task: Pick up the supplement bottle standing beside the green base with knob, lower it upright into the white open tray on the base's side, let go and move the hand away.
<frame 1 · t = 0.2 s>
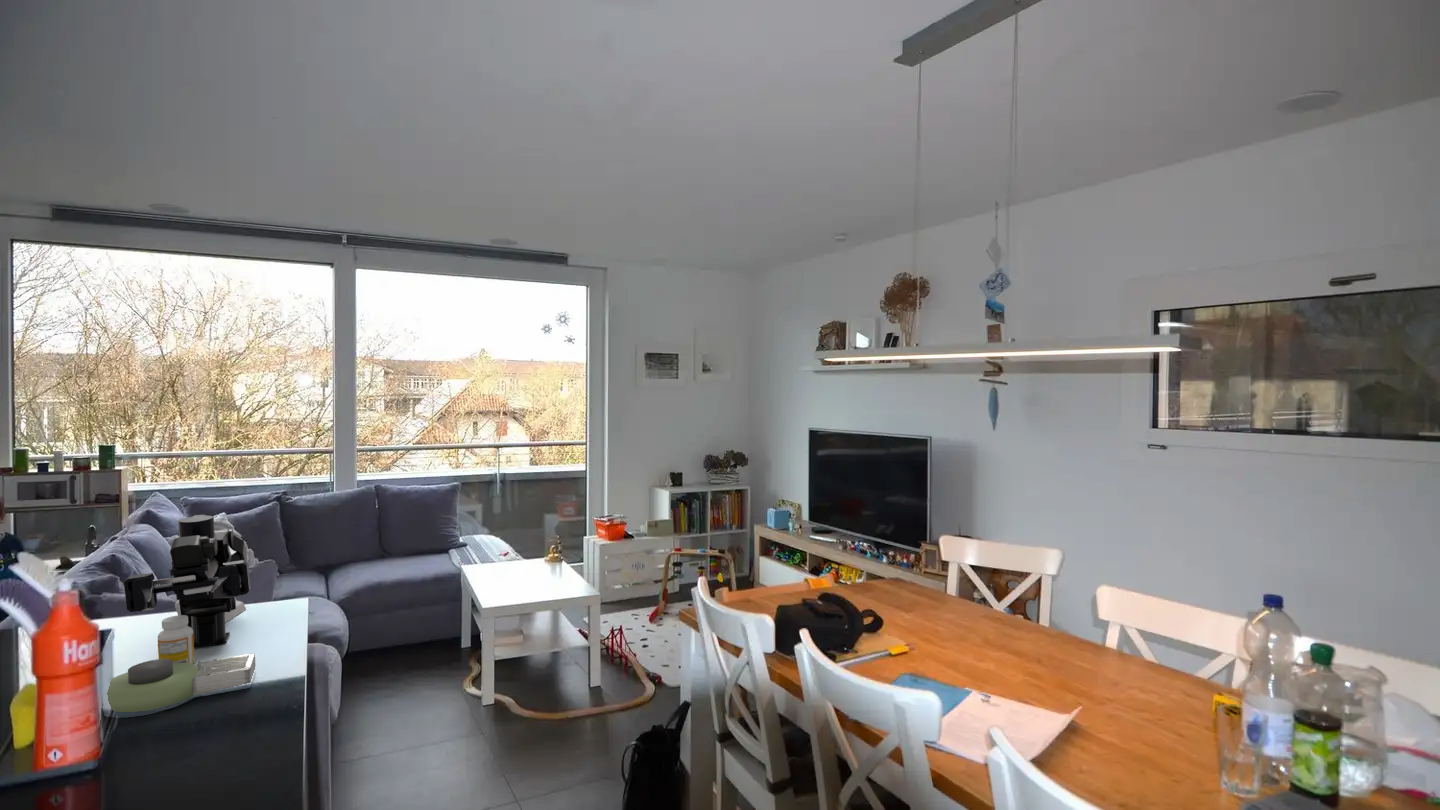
hand: (180, 600, 131), 15 cm above the kitchen counter, tool horizontal, fingers open, 9 cm apart
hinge: (210, 622, 169), on the kitchen counter, touching arm
supplement bottle: (177, 670, 140), on the kitchen counter
white open tray: (224, 684, 133), on the kitchen counter
green base with knob: (152, 700, 126), on the kitchen counter
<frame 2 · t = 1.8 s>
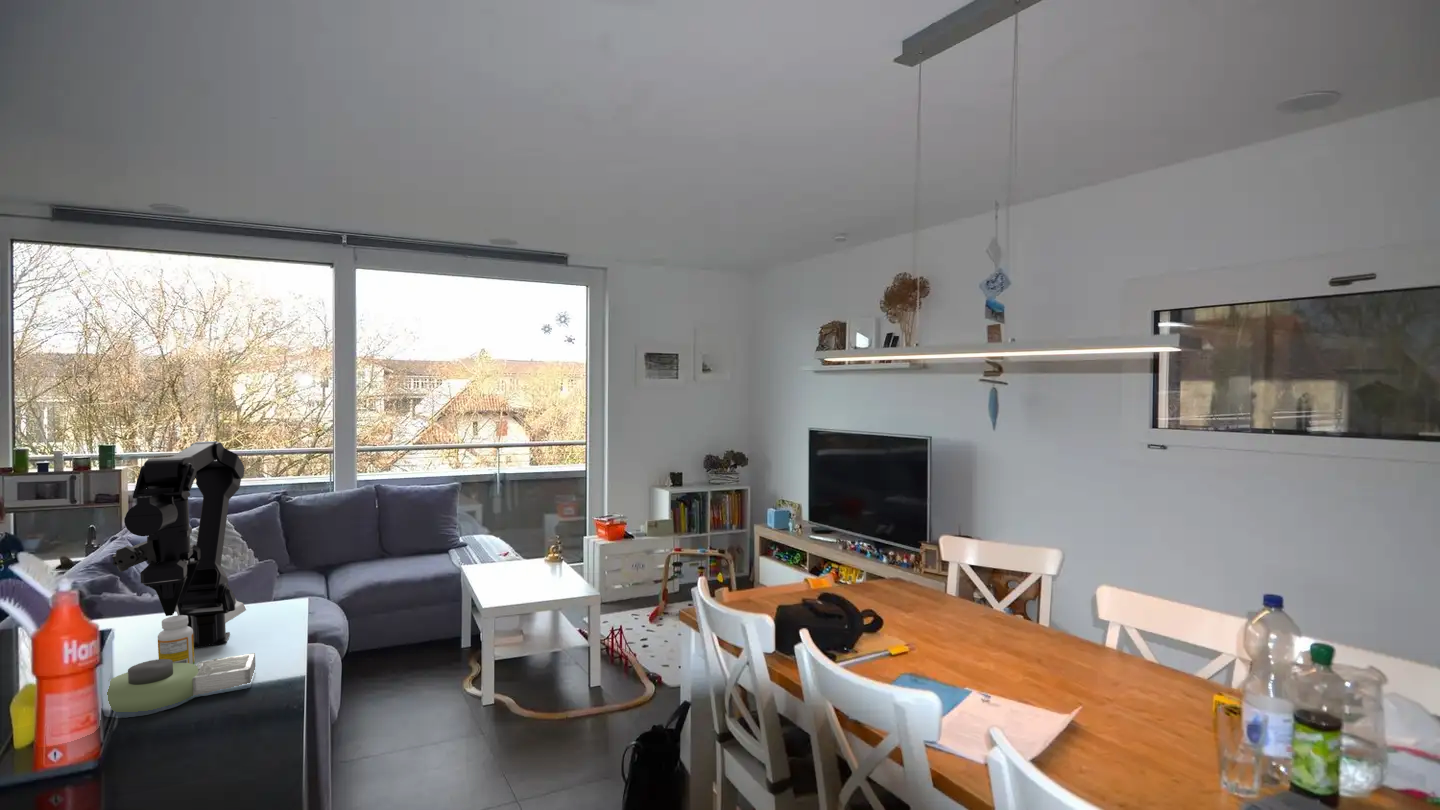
hand: (174, 608, 140), 11 cm above the kitchen counter, tool pointing down, fingers open, 9 cm apart
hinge: (210, 623, 168), on the kitchen counter
everything else where it was.
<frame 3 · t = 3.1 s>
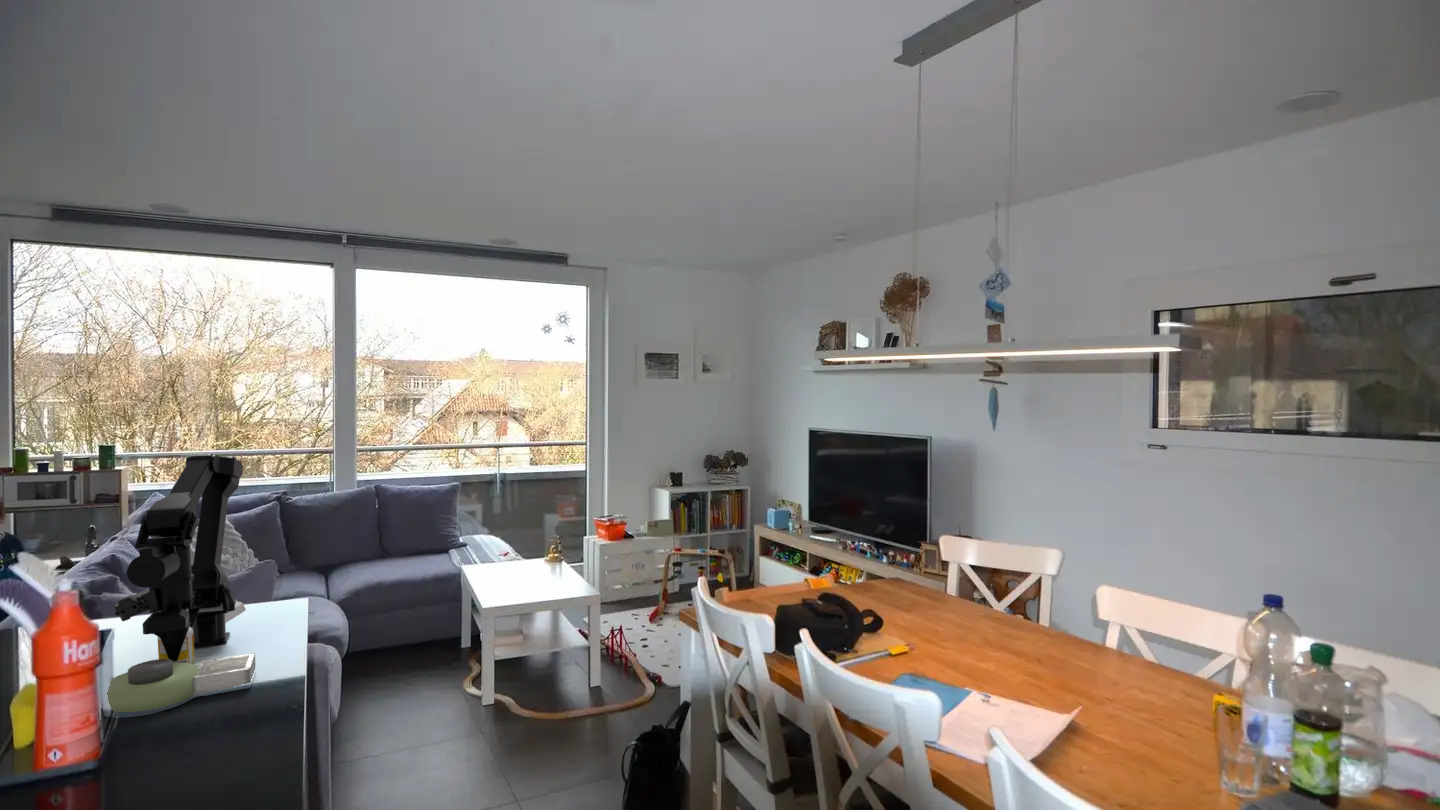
hand: (176, 656, 140), 3 cm above the kitchen counter, tool pointing down, fingers closed on supplement bottle, 5 cm apart
supplement bottle: (177, 670, 140), on the kitchen counter, touching gripper
everything else where it was.
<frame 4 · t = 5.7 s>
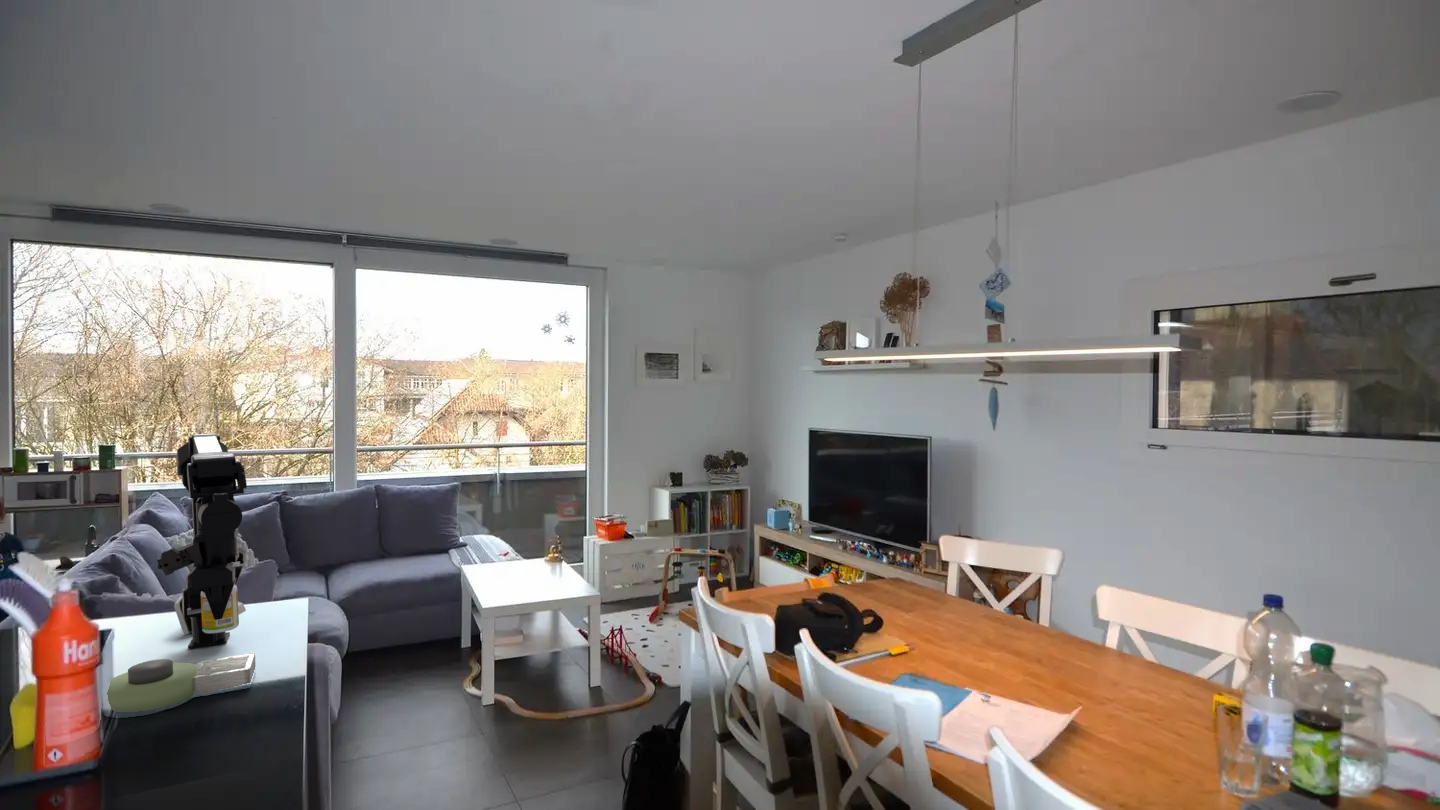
hand: (220, 614, 132), 13 cm above the kitchen counter, tool pointing down, fingers closed on supplement bottle, 5 cm apart
supplement bottle: (221, 629, 132), point 10 cm above the kitchen counter, touching gripper
everything else where it was.
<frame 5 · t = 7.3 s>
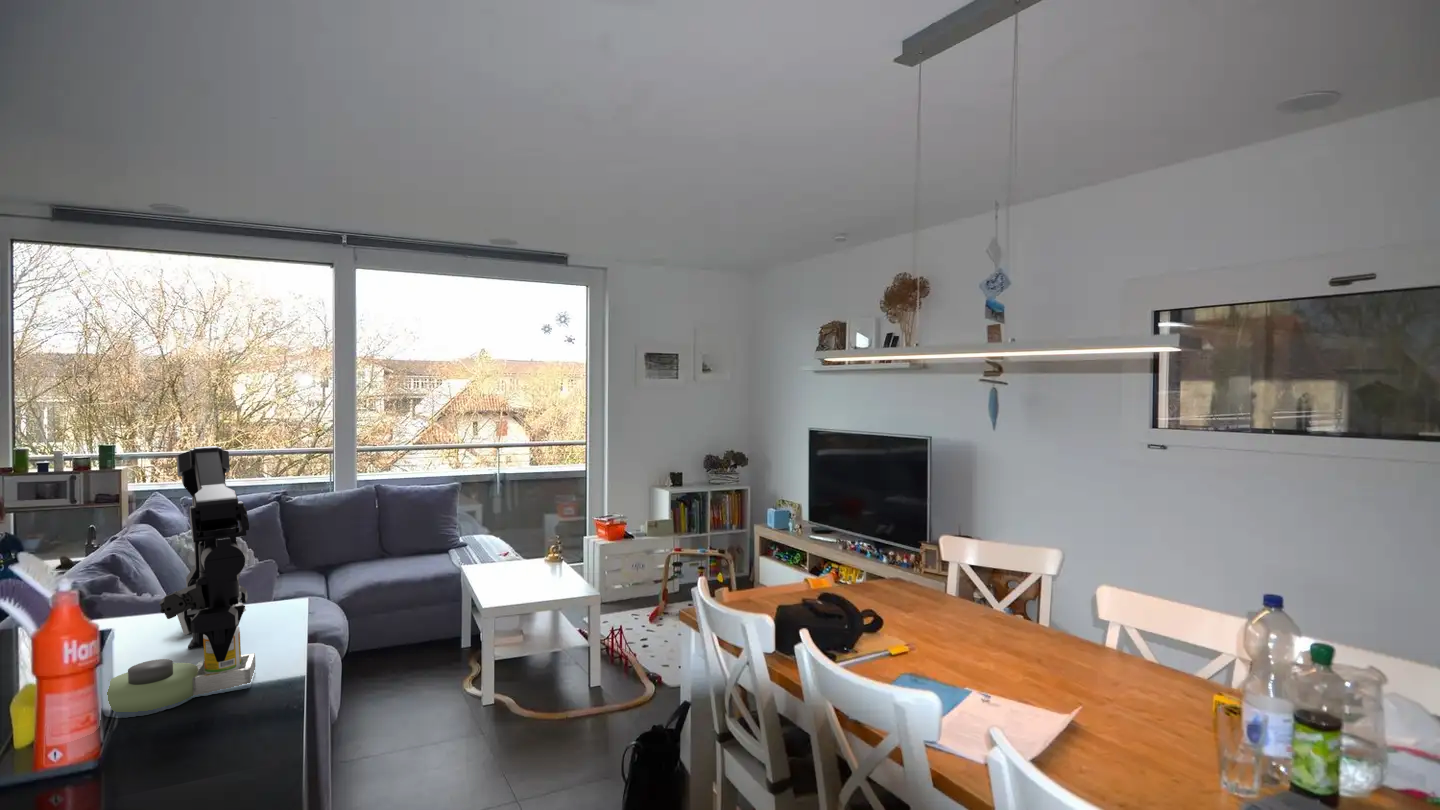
hand: (223, 656, 132), 5 cm above the kitchen counter, tool pointing down, fingers closed on supplement bottle, 5 cm apart
supplement bottle: (223, 671, 133), point 2 cm above the kitchen counter, touching gripper
everything else where it was.
when the fingers open (4 cm above the kitchen counter, at t = 8.3 s): supplement bottle stays where it is, resting on white open tray.
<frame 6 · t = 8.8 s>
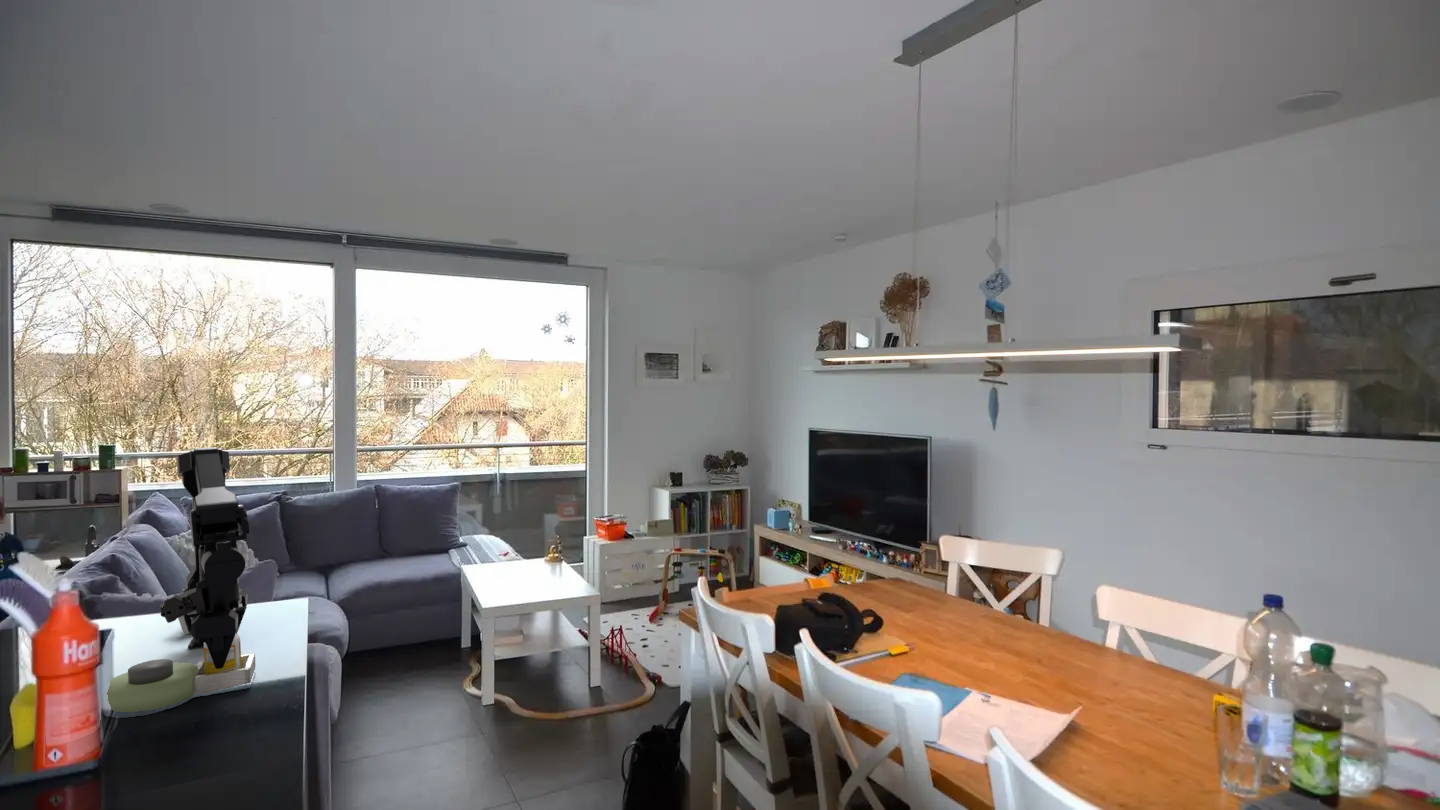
hand: (223, 659, 132), 4 cm above the kitchen counter, tool pointing down, fingers open, 9 cm apart
supplement bottle: (223, 680, 133), point 1 cm above the kitchen counter, touching white open tray
everything else where it was.
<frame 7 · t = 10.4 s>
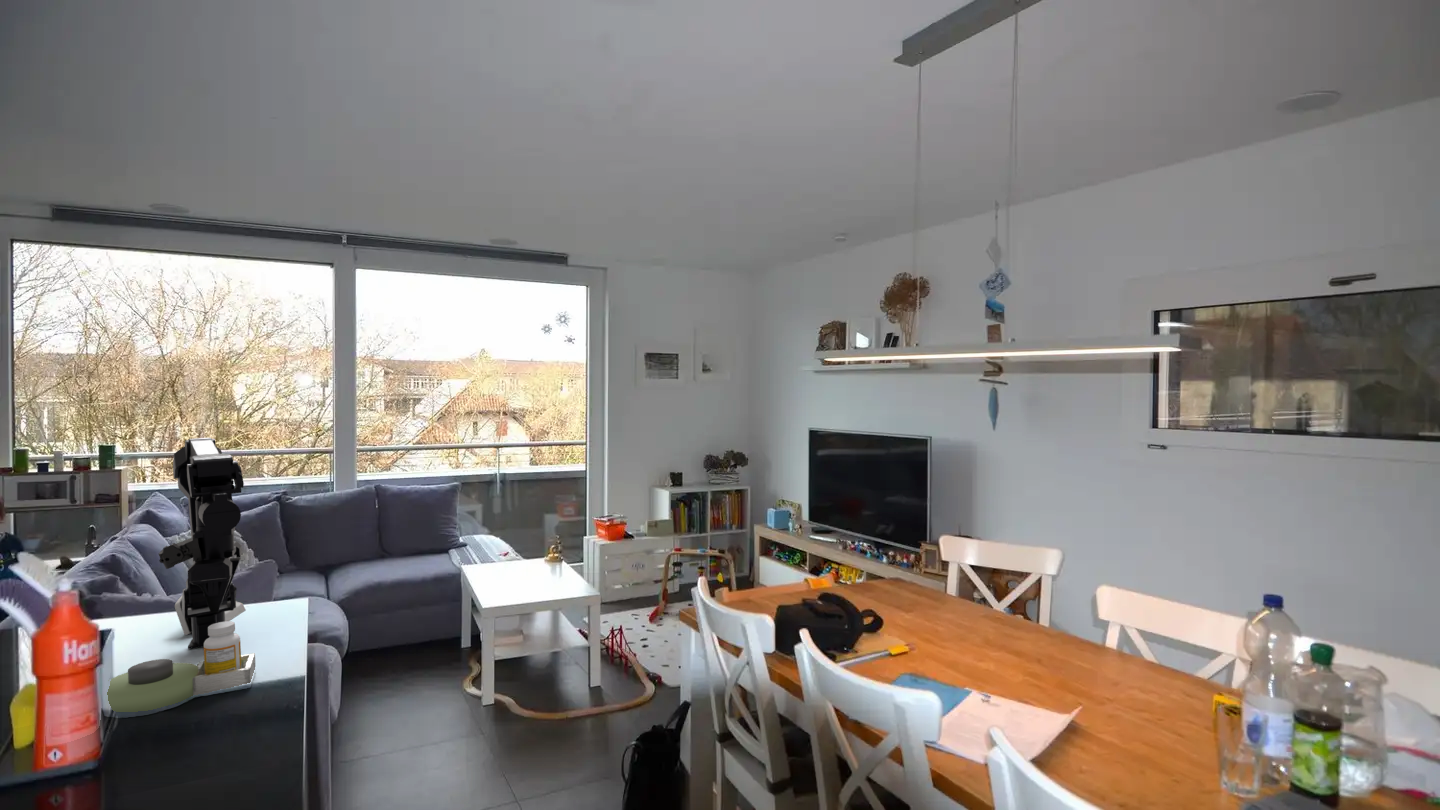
hand: (218, 605, 141), 12 cm above the kitchen counter, tool pointing down, fingers open, 9 cm apart
nothing on the kitchen counter moved.
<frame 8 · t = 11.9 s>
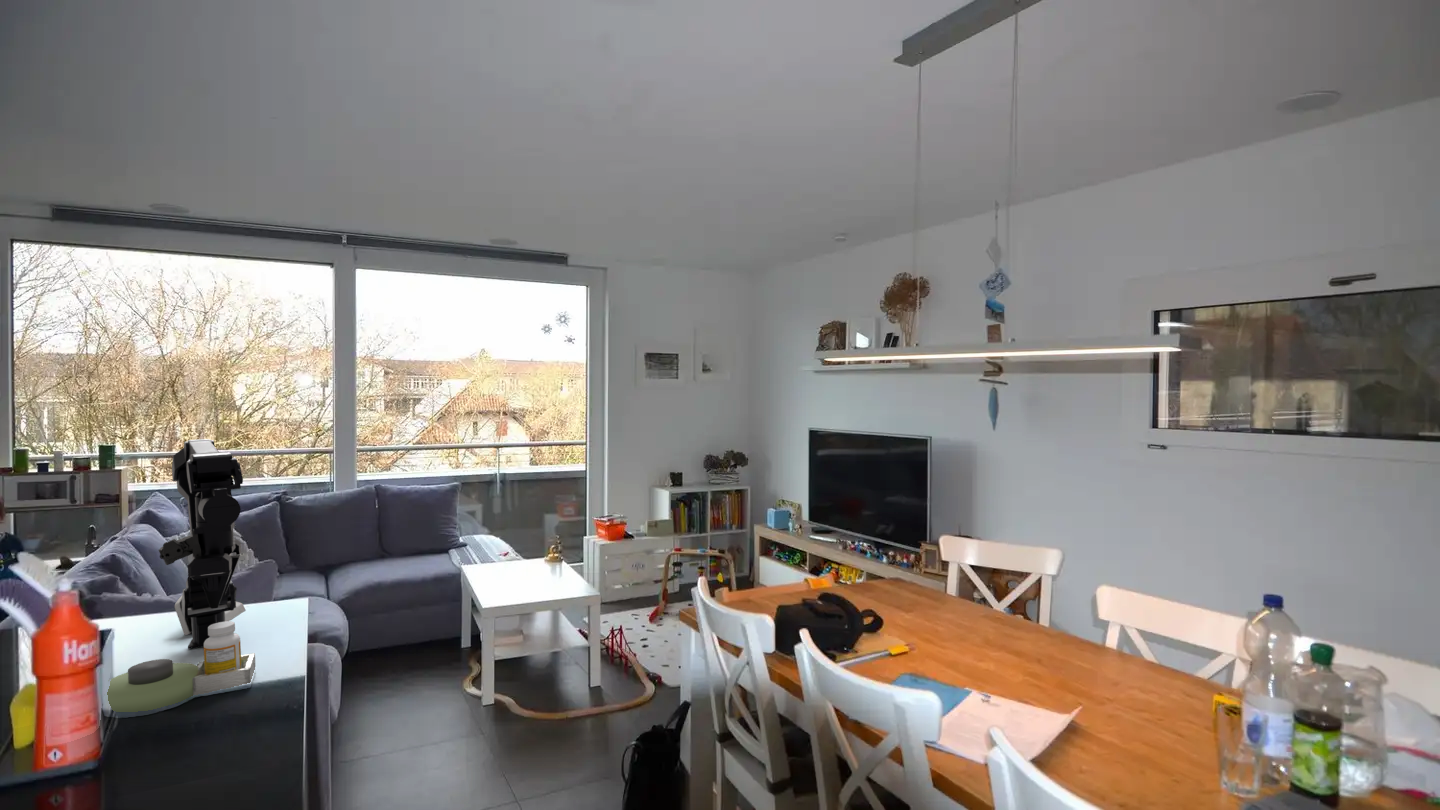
hand: (218, 601, 142), 12 cm above the kitchen counter, tool pointing down, fingers open, 9 cm apart
nothing on the kitchen counter moved.
at the end: supplement bottle 0.1 cm off-centre on the white open tray, point 0.8 cm above the white open tray's base; supplement bottle tilted 0°; the gripper is holding nothing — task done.
